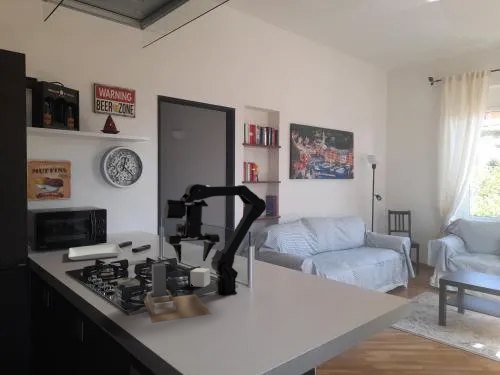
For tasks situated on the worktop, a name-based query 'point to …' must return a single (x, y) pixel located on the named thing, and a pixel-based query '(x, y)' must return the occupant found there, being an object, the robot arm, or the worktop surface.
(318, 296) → the worktop surface
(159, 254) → the worktop surface
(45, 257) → the worktop surface
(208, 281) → the white cube
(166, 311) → the cord organiser
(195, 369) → the worktop surface
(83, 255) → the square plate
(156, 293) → the tall gray block
